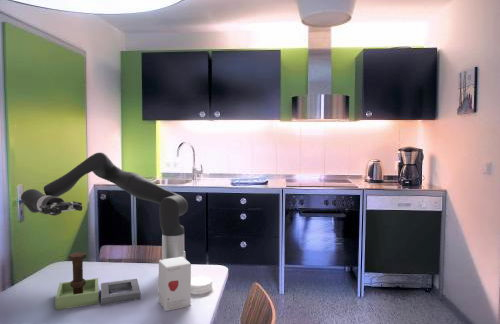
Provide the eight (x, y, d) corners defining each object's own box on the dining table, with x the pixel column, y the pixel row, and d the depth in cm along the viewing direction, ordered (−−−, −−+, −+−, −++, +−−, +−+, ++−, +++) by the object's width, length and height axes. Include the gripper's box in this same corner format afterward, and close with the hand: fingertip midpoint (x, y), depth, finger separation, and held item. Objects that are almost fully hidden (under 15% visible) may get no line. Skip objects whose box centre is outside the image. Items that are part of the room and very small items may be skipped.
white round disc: (205, 296, 130) (205, 287, 130) (181, 293, 133) (181, 284, 133) (216, 286, 140) (216, 277, 140) (192, 283, 143) (192, 274, 142)
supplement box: (165, 312, 118) (165, 267, 117) (158, 301, 126) (157, 259, 125) (191, 306, 122) (191, 263, 121) (183, 296, 130) (182, 255, 129)
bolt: (79, 299, 124) (78, 257, 123) (66, 298, 125) (65, 256, 125) (89, 292, 130) (89, 252, 129) (77, 291, 131) (76, 251, 130)
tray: (98, 288, 137) (98, 278, 136) (98, 303, 124) (97, 292, 123) (60, 293, 132) (59, 282, 131) (55, 309, 119) (55, 298, 118)
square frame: (137, 284, 140) (137, 278, 140) (140, 299, 127) (140, 292, 127) (101, 289, 135) (101, 283, 135) (101, 305, 122) (101, 298, 122)
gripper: (31, 198, 140) (50, 202, 130) (68, 194, 152) (87, 197, 142) (31, 216, 141) (50, 222, 131) (68, 211, 152) (88, 216, 142)
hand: (70, 209), depth 136 cm, fingers open, 8 cm apart
